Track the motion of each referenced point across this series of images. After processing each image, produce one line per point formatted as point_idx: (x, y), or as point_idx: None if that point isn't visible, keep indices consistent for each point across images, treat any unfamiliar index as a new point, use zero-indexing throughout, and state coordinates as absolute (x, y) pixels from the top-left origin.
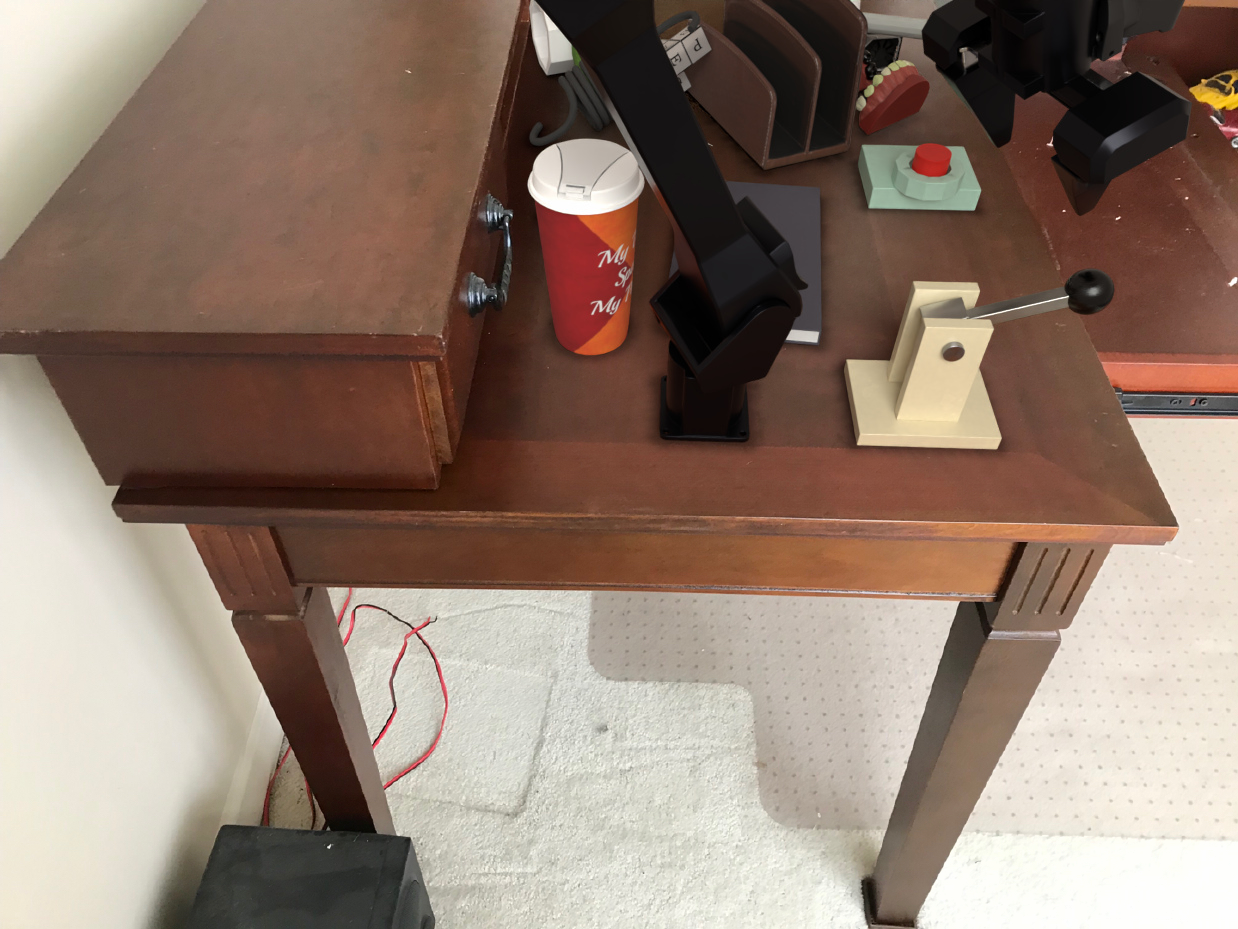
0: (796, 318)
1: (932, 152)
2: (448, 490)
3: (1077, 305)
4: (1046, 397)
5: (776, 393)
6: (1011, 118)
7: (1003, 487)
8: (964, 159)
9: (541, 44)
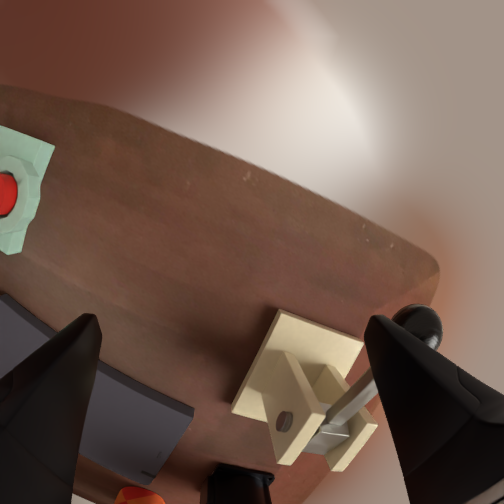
0: (170, 426)
1: None
2: None
3: None
4: (330, 261)
5: (236, 450)
6: (73, 354)
7: None
8: (4, 132)
9: None
